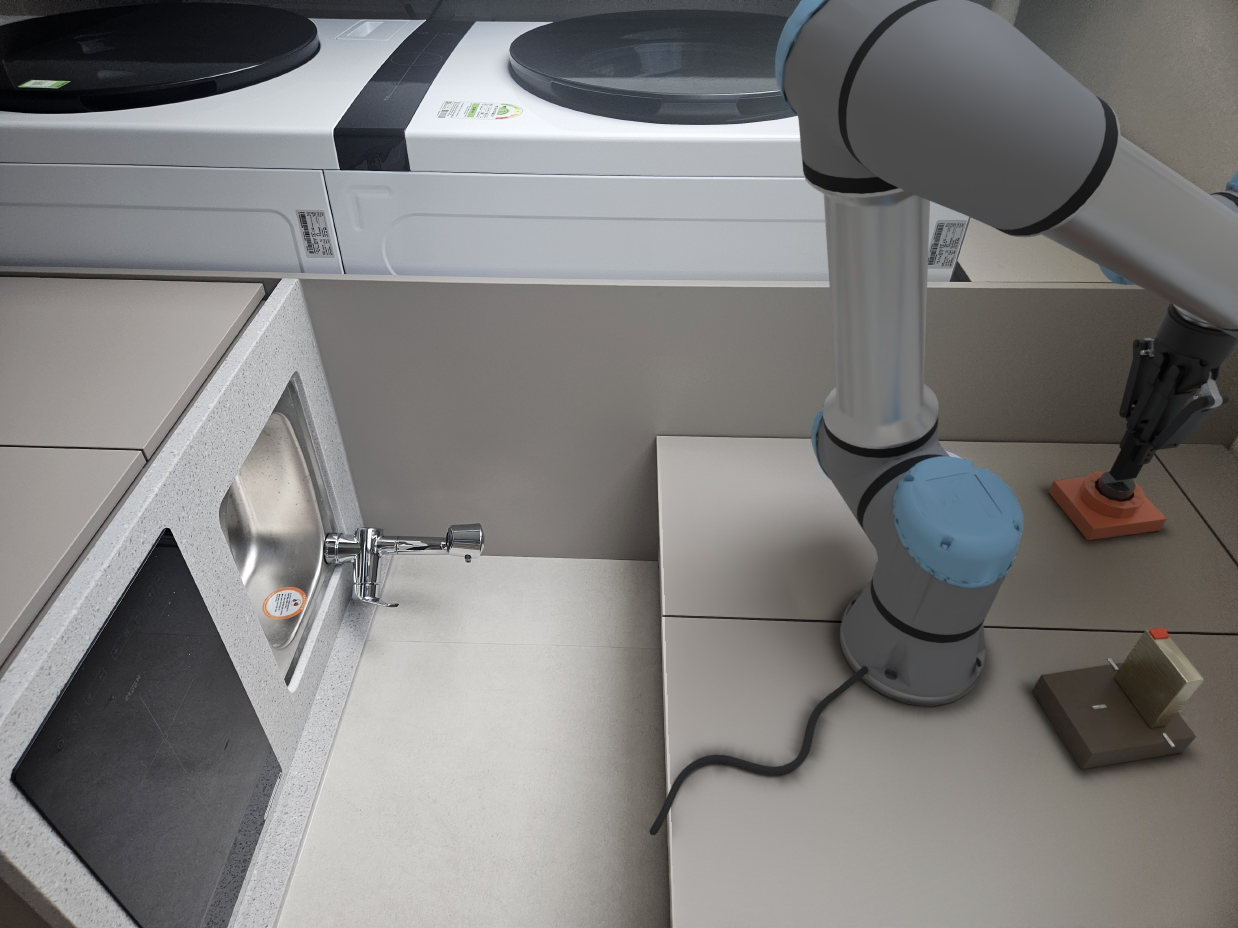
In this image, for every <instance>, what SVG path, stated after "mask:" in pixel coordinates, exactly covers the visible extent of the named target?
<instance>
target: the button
mask: <svg viewBox="0 0 1238 928" xmlns="http://www.w3.org/2000/svg"><path fill="white" fill-rule="evenodd" d="M1106 471H1107V470H1106ZM1109 472H1110V470H1108V471H1107V472H1105V473H1103V474H1102V475H1101V477H1100V479H1099V481H1098V483H1097V485H1096V488H1097V491H1098V492H1099V493H1100V494H1101V495H1103V496H1105V497H1107V498H1108V499H1110V500H1115V501H1119V502H1123V501H1127V500H1128V499H1130V497H1131V495H1132V493H1133V492H1134V490H1135V488H1136V484H1135V482H1136V481H1135V480H1134V479H1126V480H1119V481H1116V480H1115V479H1114V478H1113V477H1112V476H1111V475H1110V474H1109ZM1134 481H1135V482H1134Z"/></svg>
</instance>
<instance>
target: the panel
mask: <svg viewBox="0 0 1238 928" xmlns="http://www.w3.org/2000/svg"><path fill="white" fill-rule="evenodd" d="M1106 660H1107V662H1108V663H1109V664H1104V665H1098V666H1091V667H1090V666H1089V667H1084V668H1078V669H1071V670H1065V671H1058V672H1052V673H1044V674H1041V675H1040V676H1039V678H1038V680H1037V682H1036V683H1035V685H1034V687H1033V689H1032V693H1033V695H1034V697H1035V698H1036V699H1037V701H1038V703H1039V704H1040V706H1041V708H1042V709H1043V711H1044V713H1045V715H1046V716H1047V717H1048V719H1049V720H1050V722H1051V724H1052V725H1053V727H1054V728H1055V730H1056V732H1057V734H1058V735H1059V736H1060V738H1061V741H1063V743H1064V745H1065V746H1066V748H1067V749H1068V751H1069V752H1070V754H1071V756H1072V758H1073V759H1074V760H1075V762H1076V763H1077V765H1078V767H1079V768H1080V770H1086V769H1091V768H1093V769H1094V768H1097V767H1104V766H1110V765H1117V764H1121V763H1127V762H1134V761H1139V760H1145V759H1152V758H1157V757H1164V756H1169V755H1176V754H1181V753H1182V754H1183V753H1184V751H1185V750H1186V749H1188V747H1189V746H1190V745H1191V744H1192V743H1193V741H1194V740H1195V739H1196V738H1197V735H1196V734H1195V733H1194V731H1193V730H1192V729H1191V727H1190V726H1189V725H1188V724H1187V722H1186V721H1185V720H1184V718H1183V717H1182V716H1181V715H1180V713H1179V712H1178V713H1177V714H1176V715H1175V716H1174V717H1173V719H1172V720H1171V721H1170V722H1169V724H1168V725H1167V726H1162V727H1155V728H1150V727H1149V726H1148V724H1147V723H1146V721H1145V720H1144V719H1143V717H1142V716H1141V714H1140V713H1139V712H1138V710H1137V709H1136V707H1135V706H1134V705H1133V703H1132V702H1131V701H1130V699H1129V698H1128V696H1127V695H1126V694H1125V692H1124V691H1123V689H1122V688H1121V687H1120V685H1119V684H1118V682H1117V681H1116V680H1115V678H1114V676H1115V674H1116V673H1117V671H1118V670H1119V668H1120V667H1121V665H1122V664H1123V662H1117V663H1115V662H1114V661H1113V659H1112V658H1111V657H1109V658H1108V657H1107V659H1106Z"/></svg>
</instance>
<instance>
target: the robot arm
mask: <svg viewBox="0 0 1238 928" xmlns="http://www.w3.org/2000/svg"><path fill="white" fill-rule="evenodd" d="M774 75H775V80H776V84H777V85H776V86H777V88H778V90H779V92H780V94H781V95H780V96H781V97H782V99H783V102H784V104H785V105H786V107H787V108H788V109H789V110H790V111H791V112H792V113H793V114H794V115H797V119H798V128H799V129H798V130H799V141H800V151H801V152H800V153H801V162H802V174H803V178H804V180H805V181H806V183H808V185H810V186H811V187H812V188H813V189H815V190H816V191H818V192H819V193H821V194H823V207H824V208H823V209H824V221H825V222H824V224H825V238H826V239H825V241H826V254H827V255H826V256H827V268H828V269H827V271H828V285H829V298H830V301H829V302H830V314H831V315H830V316H831V330H832V332H831V333H832V345H833V361H834V378H835V379H834V380H835V387H834V388H833V389H832V390H831V391H830V392H829V393H828V395H827V397H826V398H825V401H824V402H823V403H822V410H821V411H817V413H816V414H815V417H814V419H813V421H812V425H811V431H810V441H811V446H812V450H813V453H814V454H815V457H816V460H817V464H818V465H819V467H820V469H821V471H822V472H823V474H824V475H825V476H826V477H827V478H828V479H829V480H830V482H831V483H832V484H833V486H834V487H835V489H836V491H837V492H838V494H839V495H840V496H841V498H842V499H843V501H844V502H845V503H844V504H846V507H848V509H849V511H850V512H851V513H852V515H853V516H854V518H855V520H856V521H857V523H858V524H859V526H860V528H861V529H862V530H863V532H864V534H865V535H866V537H867V538H868V540H869V542H870V543H871V544H872V546H873V548H874V549H875V551H876V555H877V559H876V562H875V563H876V564H875V568H874V571H873V574H872V576H871V577H872V578H871V580H869V582H868V583H866V584H865V586H864V587H863V588H862V590H861V591H859V592H858V593H857V594H856V595H855V596H854V597H853V598H852V599H851V600H850V602H849V604H848V605H847V606H846V608H845V610H844V613H843V616H842V619H841V623H840V627H839V643H840V647H841V650H842V654H843V656H844V658H845V660H846V662H847V663H848V665H849V666H850V668H851V669H852V670H853V672H854V674H853V675H852V676H850V677H849V678H848V679H846V680H845V681H844V682H843V683H841V685H839V686H838V687H837V688H836V689H834V690H833V691H831V692H830V693H829V694H827V695H826V696H825V697H824V698H823V699H822V700H821V701H820V702H819V703H818V704H817V705H816V707H815V708H814V709H813V711H812V712H811V715H810V717H809V719H808V723H807V727H806V731H805V737H804V741H803V745H802V749H801V750H800V752H799V754H798V755H797V757H795V759H793V760H791V761H790V762H789V763H786V764H783V765H778V766H770V765H769V766H768V765H762V764H760V763H759V764H758V763H755V762H753V761H752V762H751V761H749V760H745V759H742V758H738V757H734V756H732V755H731V756H730V755H726V754H711V755H705V756H702V757H699V758H697V759H695V760H693V761H692V762H690V763H689V764H688V765H686V766H685V767H684V769H682V770H681V771H680V773H678V775H677V777H676V778H675V779H674V781H673V783H672V785H671V787H670V789H669V792H668V794H667V796H666V798H665V800H664V802H663V805H662V806H661V809H660V811H659V813H658V815H657V817H656V818H655V820H654V822H653V824H652V826H651V827H650V829H649V832H648V833H649V835H651V836H656V835H657V834H658V832H659V831H660V829H661V827H662V826H663V824H664V823H665V820H666V818H667V816H668V815H669V812H670V811H671V808H672V806H673V803H674V801H675V799H676V796H677V794H678V792H679V790H680V788H681V786H682V784H683V783H684V782H685V780H686V778H687V777H688V776H689V775H690V774H691V773H693V772H694V771H695V770H696V769H698V768H700V767H702V766H705V765H707V764H713V763H723V764H728V765H732V766H736V767H739V768H743V769H746V770H749V771H751V772H756V773H760V774H765V775H782V774H787V773H789V772H792V771H794V770H796V768H798V767H800V765H802V764H803V763H804V762H805V760H806V759H807V757H808V755H809V753H810V750H811V747H812V743H813V738H814V732H815V728H816V724H817V722H818V719H819V717H820V716H821V713H822V712H823V711H824V709H825V708H826V707H828V705H829V704H830V703H832V702H833V701H834V700H835V699H837V698H839V696H841V695H842V694H843V693H845V692H846V691H848V690H849V689H850V688H851V687H852V686H853V685H855V684H856V683H857V682H858V681H859V680H862V681H863V683H865V684H866V685H868V686H869V687H871V688H872V689H874V690H875V691H876V692H879V694H882V695H884V696H886V697H888V698H890V699H892V700H894V701H897V702H901V703H903V704H908V705H913V706H921V707H935V706H942V705H947V704H950V703H954V702H956V701H957V700H961V698H963V697H965V696H966V695H967V694H968V693H969V692H970V691H971V690H972V689H973V688H974V687H975V686H976V685H977V682H978V680H979V678H980V676H981V674H982V672H983V670H984V667H985V663H986V650H987V649H986V638H985V624H984V622H985V620H986V617H987V615H988V613H989V612H990V610H991V608H992V606H993V603H994V602H995V599H996V598H997V595H998V593H999V592H1000V589H1001V587H1002V585H1003V583H1004V581H1005V579H1006V577H1007V575H1008V573H1009V572H1010V570H1011V568H1012V567H1013V565H1014V563H1015V559H1016V557H1017V555H1018V552H1019V546H1020V541H1021V539H1022V537H1023V531H1024V515H1023V511H1022V508H1021V504H1020V502H1019V500H1018V498H1017V496H1016V495H1015V493H1014V492H1013V490H1012V489H1011V487H1010V486H1009V485H1008V483H1006V482H1005V481H1004V480H1003V479H1002V478H1001V477H1000V476H998V475H997V474H996V473H995V472H993V471H991V469H989V468H987V467H985V466H982V467H981V468H977V467H976V466H975V465H974V461H972V460H968V459H965V458H962V457H960V458H957V457H950V456H949V455H948V453H947V452H946V451H947V450H945V449H944V447H943V446H942V444H941V442H940V439H939V413H940V411H939V410H940V406H939V400H938V398H937V395H936V393H935V392H934V391H933V390H932V388H931V387H930V386H929V385H927V384H926V383H925V362H926V360H925V359H926V358H925V357H926V330H927V302H928V301H927V299H928V274H929V273H928V272H929V271H928V270H929V269H928V268H929V244H930V243H929V242H930V241H929V240H930V215H931V214H930V210H931V208H930V207H931V203H934V204H936V205H939V206H941V207H944V208H947V209H949V210H951V211H953V212H956V213H958V214H961V215H964V216H966V217H969V218H971V219H973V220H975V221H978V222H981V223H983V224H985V225H987V226H989V227H992V228H993V229H995V230H997V231H999V232H1001V233H1003V234H1005V235H1008V236H1010V237H1015V238H1032V237H1037V236H1041V235H1042V236H1043V237H1044V238H1045V237H1046V238H1047V239H1049V240H1051V241H1053V242H1055V243H1057V244H1058V245H1061V246H1062V247H1064V248H1067V249H1068V250H1070V251H1071V252H1074V253H1076V254H1078V255H1079V256H1081V257H1083V258H1085V259H1086V260H1089V261H1090V262H1092V263H1095V264H1096V265H1098V267H1099V269H1100V271H1101V272H1102V274H1103V275H1104V276H1105V278H1107V279H1108V280H1109V281H1110V282H1112V283H1114V284H1118V285H1124V286H1134V285H1135V286H1138V287H1139V288H1142V289H1144V290H1145V291H1148V292H1149V293H1151V294H1153V295H1155V296H1157V297H1159V298H1160V299H1162V300H1165V301H1166V302H1169V303H1170V304H1168V306H1167V308H1166V311H1165V312H1164V315H1163V317H1162V318H1161V320H1160V323H1159V325H1158V327H1157V328H1156V335H1155V337H1154V336H1153V337H1145V338H1136V339H1134V340H1133V342H1132V360H1131V364H1130V369H1129V372H1128V377H1127V381H1126V384H1125V388H1124V392H1123V395H1122V399H1121V404H1120V406H1119V411H1118V415H1119V416H1120V417H1121V418H1122V419H1125V421H1126V424H1125V427H1126V430H1125V432H1124V435H1123V437H1122V438H1121V440H1120V442H1119V445H1118V446H1119V449H1120V451H1119V453H1118V455H1117V456H1116V459H1114V462H1113V465H1112V466H1111V468H1110V470H1109V471H1110V472H1109V474H1110V475H1111V476H1112V477H1113V478H1114V479H1115V480H1116V481H1119V480H1126V479H1133V480H1134V479H1137V477H1138V475H1139V474H1140V471H1141V470H1142V468H1143V467H1144V465H1147V464H1149V463H1151V461H1152V459H1153V457H1154V456H1155V454H1156V452H1157V451H1159V450H1167V449H1168V450H1169V449H1175V448H1178V447H1179V446H1180V445H1181V444H1182V443H1183V442H1184V441H1185V440H1186V439H1187V438H1188V437H1189V436H1190V435H1191V434H1192V433H1193V431H1195V430H1196V429H1197V428H1198V427H1199V426H1200V425H1201V423H1202V422H1204V421H1205V420H1206V418H1208V416H1209V415H1211V413H1212V412H1213V411H1215V410H1217V409H1219V408H1222V407H1224V406H1226V405H1228V404H1229V402H1230V397H1229V395H1228V394H1226V393H1220V391H1219V388H1218V386H1217V385H1218V384H1217V381H1218V379H1219V378H1220V376H1221V368H1222V365H1223V363H1224V362H1225V361H1226V360H1227V359H1229V358H1230V356H1232V355H1233V354H1234V353H1235V351H1236V349H1237V347H1238V168H1236V169H1235V171H1234V173H1233V175H1232V177H1231V178H1230V179H1229V180H1228V181H1227V182H1226V185H1225V190H1224V191H1216V192H1212V193H1210V194H1209V193H1208V192H1206V191H1205V190H1203V189H1202V188H1201V187H1198V186H1197V185H1196V184H1194V183H1192V182H1191V181H1190V180H1189V179H1187V178H1185V177H1184V176H1182V175H1181V174H1179V173H1178V172H1176V171H1175V170H1173V169H1171V168H1170V167H1169V166H1168V165H1166V164H1164V163H1163V162H1162V161H1160V160H1159V159H1157V158H1155V157H1154V156H1152V155H1151V154H1150V153H1148V152H1147V151H1145V150H1144V149H1142V148H1141V147H1139V146H1138V145H1136V144H1135V143H1133V142H1132V141H1130V140H1129V139H1127V138H1126V137H1124V136H1122V133H1121V125H1120V120H1119V117H1118V115H1117V113H1116V112H1115V110H1114V108H1113V107H1112V106H1110V104H1109V103H1108V102H1106V101H1104V99H1102V98H1100V97H1099V96H1098V95H1096V94H1095V93H1093V92H1092V91H1091V90H1090V89H1088V87H1086V86H1084V84H1082V83H1081V82H1079V80H1077V79H1076V78H1075V77H1074V76H1072V75H1071V73H1069V72H1068V71H1067V70H1065V68H1064V67H1062V66H1061V65H1060V64H1058V63H1057V62H1056V61H1055V60H1054V59H1052V58H1051V57H1050V56H1049V55H1048V54H1047V53H1046V52H1044V51H1043V50H1042V49H1041V48H1040V47H1039V46H1037V45H1036V44H1035V43H1034V42H1033V41H1032V40H1030V38H1029V37H1028V36H1026V35H1025V34H1023V32H1021V31H1020V30H1019V29H1018V28H1017V27H1016V26H1014V25H1013V24H1011V23H1010V22H1009V21H1007V20H1006V19H1005V18H1004V17H1002V16H1001V15H1000V14H998V13H997V12H995V11H993V10H991V9H989V8H987V7H985V6H984V5H982V4H980V3H976V2H974V1H971V0H800V1H799V3H798V5H797V6H796V7H795V9H794V11H793V13H792V14H791V15H790V17H788V18H787V21H786V22H785V24H784V27H783V29H782V30H781V33H780V37H779V39H778V41H777V46H776V51H775V58H774ZM1198 390H1199V391H1198ZM1196 393H1197V394H1196ZM1191 398H1192V401H1190V402H1189V403H1188V401H1189V399H1191Z"/></svg>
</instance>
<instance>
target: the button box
mask: <svg viewBox="0 0 1238 928" xmlns="http://www.w3.org/2000/svg"><path fill="white" fill-rule="evenodd" d="M1105 472H1107V470H1101V471H1092V472H1090V473H1089V474H1088V475H1087V476H1080V477H1071V478H1064V479H1055V480H1053V482H1052V484H1051V486H1050V488H1049V491H1048V494H1049V495H1050V496H1051V498H1052V499H1053V501H1055V502H1056V504H1057V505H1058V506H1059V507H1060V508H1061V510H1062V511H1063V512H1064V514H1065V515H1066V516H1067V517H1068V518H1069V520H1070V521H1071V522H1072V523H1073V524H1074V526H1075V527H1076V528H1077V530H1078V531H1079V532H1080V533H1081V534H1082V536H1083V537H1084V538H1085V539H1086V540H1087V541H1093V540H1101V539H1109V538H1115V537H1123V536H1130V535H1137V534H1144V533H1152V532H1159V531H1161V529H1162V528H1163V526H1164V524H1165V523H1166V521H1167V517H1166V515H1164V514H1163V513H1162V512H1161V511H1160V510H1159V509H1158V507H1156V506H1155V505H1154V503H1153V502H1152V501H1151V500H1150V499H1149V498H1148V497H1147V496H1146V495H1145V492H1144V490H1143V488H1142V487H1141V486H1140V485H1139V484H1138V483H1137V482H1136V481H1135V480H1134V482H1135V484H1136V488H1135V490H1134V492H1133V493H1132V495H1131V497H1130V499H1128V500H1127V501H1123V502H1119V501H1115V500H1110V499H1108V498H1107V497H1105V496H1103V495H1101V494H1100V493H1099V492H1098V491H1097V488H1096V485H1097V483H1098V481H1099V479H1100V477H1101V475H1102V474H1103V473H1105Z"/></svg>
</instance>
